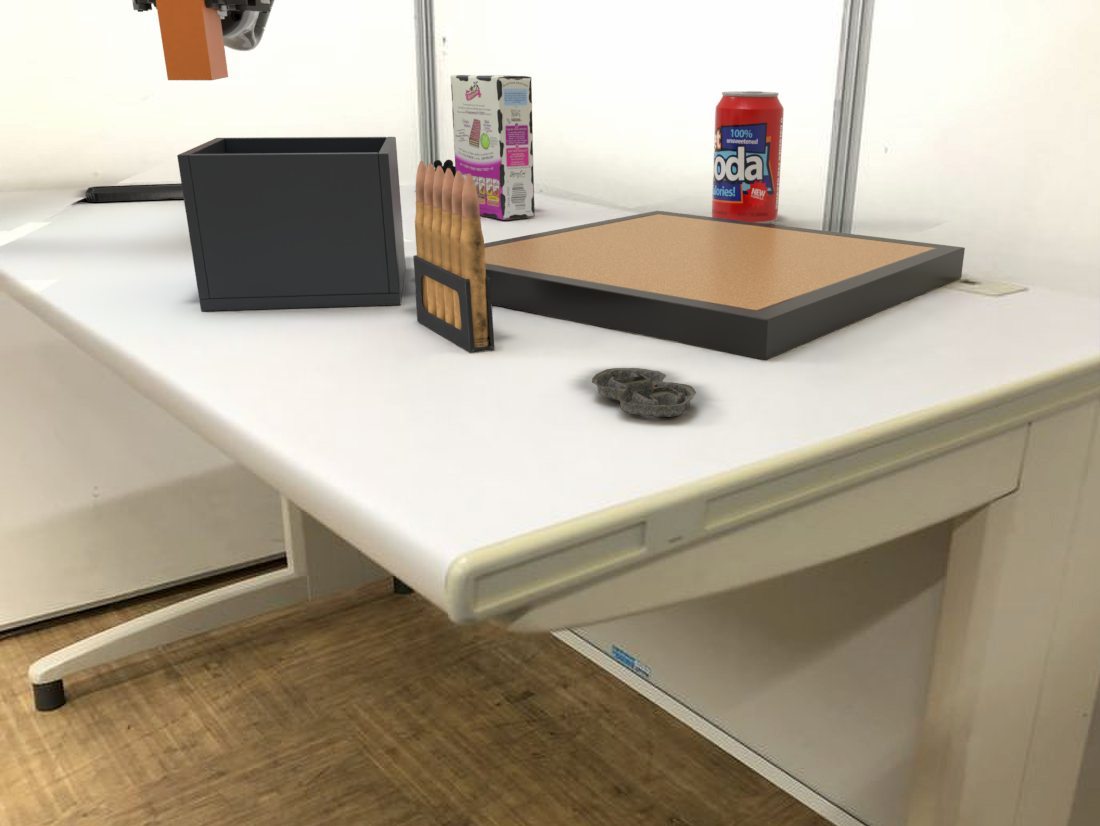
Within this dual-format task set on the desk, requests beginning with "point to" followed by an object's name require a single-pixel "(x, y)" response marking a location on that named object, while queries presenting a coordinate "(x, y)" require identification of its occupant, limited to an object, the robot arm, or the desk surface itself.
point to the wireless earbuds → (445, 166)
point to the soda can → (747, 156)
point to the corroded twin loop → (644, 391)
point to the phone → (134, 192)
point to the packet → (191, 40)
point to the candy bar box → (495, 141)
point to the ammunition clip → (451, 260)
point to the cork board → (713, 278)
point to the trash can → (294, 222)
